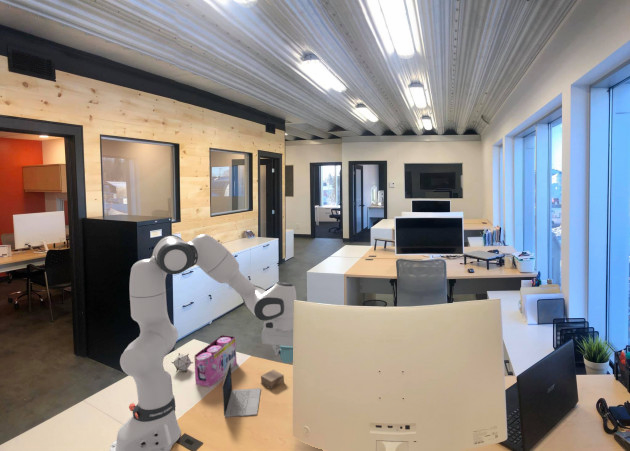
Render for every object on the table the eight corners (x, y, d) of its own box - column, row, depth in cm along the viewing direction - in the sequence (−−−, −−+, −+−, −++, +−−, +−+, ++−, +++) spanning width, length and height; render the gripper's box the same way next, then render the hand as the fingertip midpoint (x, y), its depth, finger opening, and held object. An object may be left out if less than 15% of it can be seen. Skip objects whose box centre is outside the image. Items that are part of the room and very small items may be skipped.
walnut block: (271, 390, 163) (271, 381, 162) (261, 384, 167) (260, 375, 167) (284, 383, 168) (283, 374, 167) (273, 377, 172) (273, 369, 172)
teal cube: (283, 363, 150) (282, 351, 149) (280, 357, 154) (279, 345, 154) (295, 360, 151) (295, 348, 151) (291, 355, 156) (291, 343, 155)
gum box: (208, 389, 164) (206, 359, 163) (193, 386, 167) (191, 357, 165) (237, 362, 187) (235, 336, 185) (223, 360, 189) (221, 334, 188)
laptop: (257, 416, 145) (255, 384, 144) (223, 418, 145) (221, 386, 143) (261, 389, 163) (259, 361, 161) (231, 391, 163) (229, 362, 161)
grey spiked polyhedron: (180, 377, 182) (172, 357, 185) (197, 368, 184) (189, 349, 187) (174, 377, 174) (167, 356, 177) (192, 367, 176) (184, 347, 179)
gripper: (313, 320, 151) (314, 353, 153) (265, 317, 156) (266, 349, 158) (309, 327, 145) (310, 361, 147) (259, 323, 150) (260, 356, 152)
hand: (287, 355), depth 152 cm, fingers closed on teal cube, 7 cm apart
